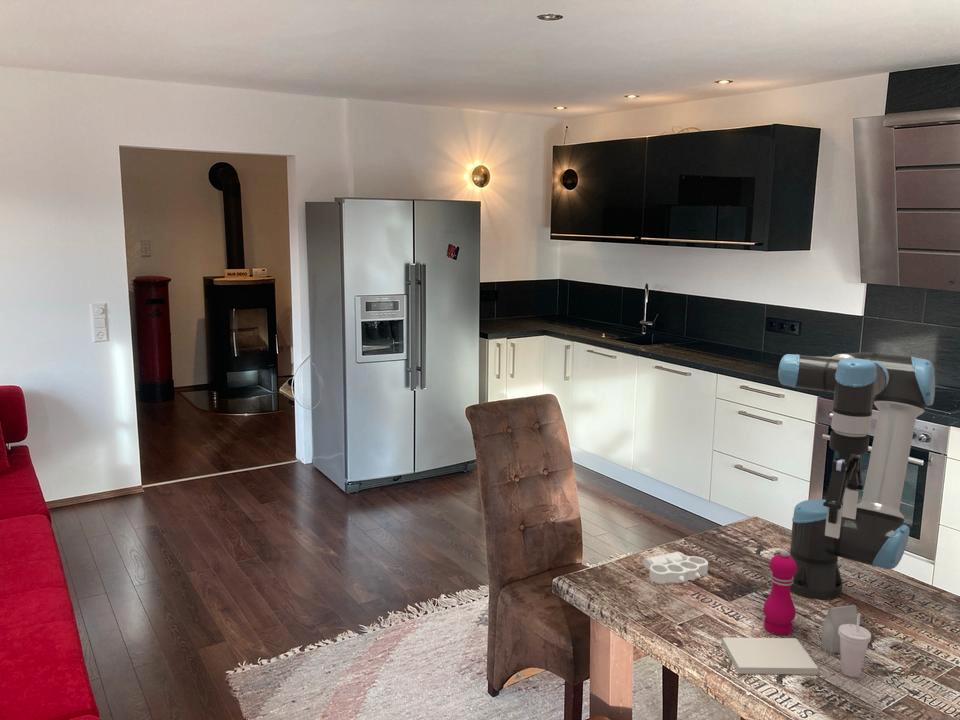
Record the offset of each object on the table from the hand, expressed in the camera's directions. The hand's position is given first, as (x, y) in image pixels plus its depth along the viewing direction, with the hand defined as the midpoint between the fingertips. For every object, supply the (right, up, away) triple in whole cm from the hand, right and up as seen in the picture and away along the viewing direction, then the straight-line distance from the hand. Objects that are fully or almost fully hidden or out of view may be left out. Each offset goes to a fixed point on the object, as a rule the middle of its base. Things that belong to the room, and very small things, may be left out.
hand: (840, 526), depth 169 cm
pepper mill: (-7, -28, +17) cm, 34 cm away
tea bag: (+4, -30, +9) cm, 32 cm away
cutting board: (-14, -30, +5) cm, 34 cm away
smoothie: (+2, -32, 0) cm, 32 cm away
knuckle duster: (-24, -23, +46) cm, 57 cm away
